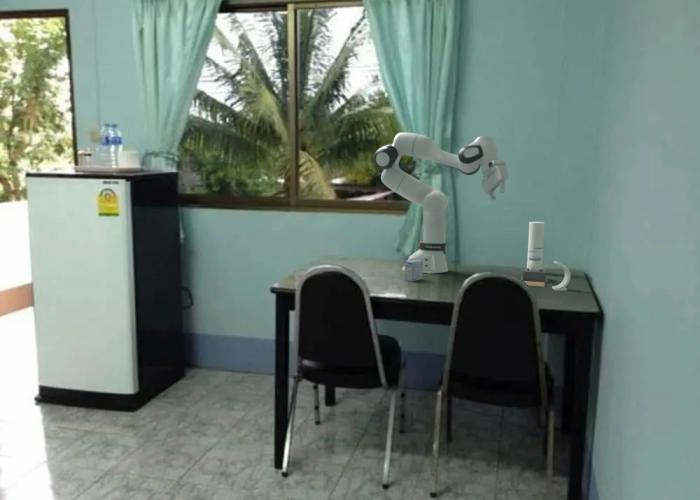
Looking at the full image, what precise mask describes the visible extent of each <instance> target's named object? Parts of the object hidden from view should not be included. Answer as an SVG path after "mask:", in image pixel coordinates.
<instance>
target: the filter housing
mask: <svg viewBox="0 0 700 500" xmlns="http://www.w3.org/2000/svg"><path fill="white" fill-rule="evenodd" d="M520 280H522V281H521V282H524V281H532V282H545V284H548V283H549V280H548V276H547V269H546V268H542V269H540V272H537V271H529V268H527V267H523V272H522V275H521V276H520Z"/></svg>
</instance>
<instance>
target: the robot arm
mask: <svg viewBox="0 0 700 500" xmlns="http://www.w3.org/2000/svg"><path fill="white" fill-rule="evenodd" d="M403 156H409V157H413V158H416V159H417V158H418V159H421V160H426V161H430V162H433V163H437V164H438V165H439V164H440V165H443V166H447V167H450V168H453V169H456V170H457V171H459V172H460V173H461V174H463V175H466V176H473V175H475V174H477V173H478V172H479V170H480V169H481V172H482V175H483V176H482V179H481V181H480V182H481V190H482V193H483V195H485V196H487V195H488V197H490V200H491V201H495V200H496V199H497V198H496V195H494V191H495V190H497V189H498V188H499V192H500V193H501V194H503V193H505V192H506V189H505V185H506V182H505V181H506V180H508V178H509V171H508V167H507V161H506V160H505V159H500V158H499V157H498V149H497V146H496V143H495V141H494V139H493V137H491V136H489V135H480V136H478V137H476V139H475V140H474V141H473V142H471V143H469V144H467V145H465V146H462V147H461V148H460V150H459V152H458V154H454V153H451V152H448V151H445V150H443V149H442V148H440V147H439V146H438V145H437V143H436V142H435V140H433V138H431V137H430V136H427V135H424V134H420V133H414V132H403V131H402V132H398V133H397V134H396V135H395V137H394V138H393V142H392V143H389V144H386V145H383V146H381V147H380V148H378V149H377V150H376V151H375V153H374V155H373V161H374V165H375V166H376V167H377V168H378V169H380V170H382V172H381V176H380V179H381V182H382V184H383V185H385V186H386V187H387V188H388V189H390V191H392V192H393V193H396V194H397V195H399V196H401V197H402V198H403V199H406V200H407V201H409V202H411V203H414V204H416V205H417V206H420V207H422V218H423V219H422V220H423V221H422V222H423V233H422V234H423V235H422V236H423V237H422V238H423V240H422V241H420V242H419V244H418V248H419V249H418V250H416V251H415V252H414V253H412V254H410V255H409V257H408V259H407V261H412V260H419V261H423V272H422V274H438V273H439V274H440V273H441V274H443V273H447V272H448V271H449V269H448V264H447V247H448V244H447V241H446V240H447V216H446V215H447V214H446V212H447V211H446V210H447V208H448V206H449V198H448V196H447V195H446V193H444V192H442V191H440V190H439V189H437V188H435V187H432V186H431V185H430V184H427V183H425V182H423V181H421V180H419V179H418V178H416V177H414V176H412V175H411V174H409V173H407V172H406V171H404V170H402V169H401V168H400V167H401V165H402V164H401V163H402V160H403ZM402 271H404V272H405V265H404V266H403V267H402Z"/></svg>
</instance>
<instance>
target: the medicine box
mask: <svg viewBox="0 0 700 500" xmlns="http://www.w3.org/2000/svg"><path fill="white" fill-rule="evenodd" d="M404 266H405V271H404V274H403V275H404V279H403V280H404V281H408V282H415V281H420V280H423V273H422V272H423V261H419V260H412V261H408V260H406V261H405V262H404Z"/></svg>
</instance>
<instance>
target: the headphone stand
mask: <svg viewBox="0 0 700 500" xmlns="http://www.w3.org/2000/svg"><path fill="white" fill-rule="evenodd" d="M553 264H556V265H558V266H560V267H562V269H563V271H564V277H563V278H562V281H561V282H560V283H559V284H557V285H553V286H552V287H551V289H553V290H554V291H568V288H567V286H568V284H569V282H570V281H571V271H570V268H569V267H568V266H567V265H565V264H564V263H562V262H560V261H558V260H557V261H556V260H553Z"/></svg>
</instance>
